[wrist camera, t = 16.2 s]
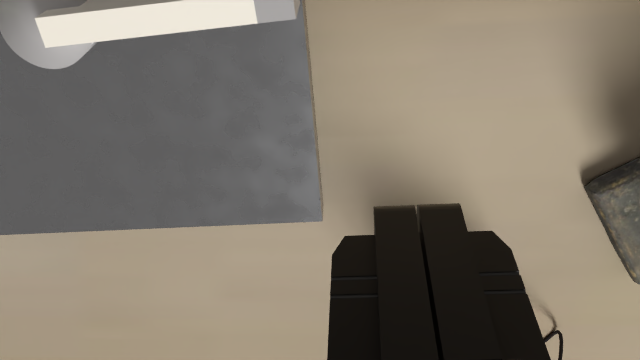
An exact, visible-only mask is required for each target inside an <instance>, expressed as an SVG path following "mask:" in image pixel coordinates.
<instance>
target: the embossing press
mask: <svg viewBox="0 0 640 360" xmlns="http://www.w3.org/2000/svg"><path fill="white" fill-rule="evenodd" d="M584 188H585V190H586V192H587V193H588V197H589V199H590V200H591V202H592V204H593V206H594V208H595V210H596V212H597V214H598V216H599V218H600V220H601V222H602V224H603V226H604V228H605V230H606V232H607V234H608V236H609V238H610V240H611V243H612V245H613V247H614V249H615V250H616V252H617V254H618V256H619V257H620V259H621V261H622V262H623V264H624V266H625V268H626V270H627V272H628V273H629V275H630V277H631V278H632V280H633V281H634V282H636V283H638V284H640V158H638V159H636V160H633V161H631V162H629V163H627V164H625V165H623V166H621V167H619V168H616V169H614V170H612V171H610V172H608V173H606V174H604V175H602V176H600V177H598V178H596V179H594V180H593V181H591V182H590V183H589V184H588V185H587V186H585V187H584Z"/></svg>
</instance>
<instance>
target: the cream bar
mask: <svg viewBox="0 0 640 360" xmlns="http://www.w3.org/2000/svg"><path fill="white" fill-rule="evenodd" d="M299 5H300V0H0V32H1V34H2V36H3V38H4V39H5V41H6V43H7V44H8V45H9V46H10V48H11V49H12V50H13V51H14V52H15V53H16V54H17V55H19V56H20V57H21V58H23V59H24V60H26V61H27V62H29V63H31V64H33V65H36V66H39V67H42V68H47V69H61V68H65V67H68V66H70V65H72V64H74V63H76V62H77V61H78V60H79V59H80V58H81V57H82V56H84V55H85V54H86V53H87V52H88V51H89V50H90V49H91V48H92V47H93V46H94V45H95V44H96V43H97V42H101V41H110V40H118V39H127V38H136V37H144V36H153V35H162V34H171V33H179V32H188V31H197V30H205V29H214V28H223V27H232V26H240V25H249V24H258V23H266V22H275V21H284V20H292V19H296V18H297V13H298V9H299Z"/></svg>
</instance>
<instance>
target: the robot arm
mask: <svg viewBox="0 0 640 360" xmlns="http://www.w3.org/2000/svg"><path fill="white" fill-rule="evenodd" d="M374 234H375V235H360V236H345V237H344V238H343V240H342V241H341V243H340V244H339V246H338V247H337V249H336V250H335V252H334V253H333V254H332V269H331V291H330V313H329V335H328V357H327V360H551V359H550V356H549V354H548V351H547V348H546V345H545V342H544V340H543V337H542V334H541V331H540V328H539V326H538V323H537V320H536V317H535V314H534V312H533V309H532V306H531V303H530V300H529V298H528V295H527V294H526V292H525V287H524V284H523V281H522V278H521V275H519V270H518V267H517V264H516V261H515V259H514V256H513V253H512V250H511V249H510V248H509V247H508V246H507V245H506V244H505V243H504V242H503V241H502V240H501V239H500V238H499V237H498V236H497V235H496V234H495V233H494V232H493V231H474V232H468V231H467V227H466V224H465V220H464V216H463V213H462V209H461V206H460V204H459V203H457V204H430V205H417V217H416V210H415V206H414V205H408V206H381V207H374Z"/></svg>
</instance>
